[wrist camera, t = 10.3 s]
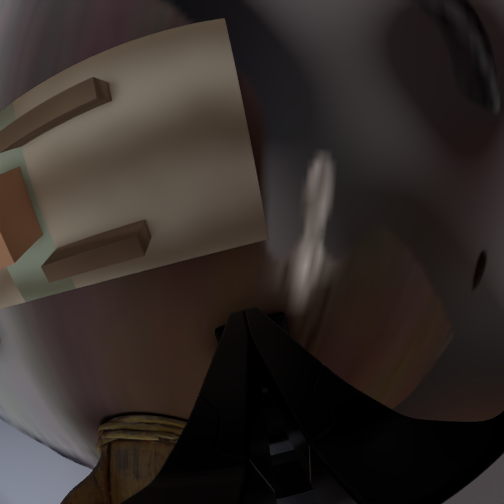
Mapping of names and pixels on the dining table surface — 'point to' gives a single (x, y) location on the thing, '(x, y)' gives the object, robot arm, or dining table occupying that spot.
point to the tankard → (127, 458)
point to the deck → (132, 162)
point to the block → (16, 218)
